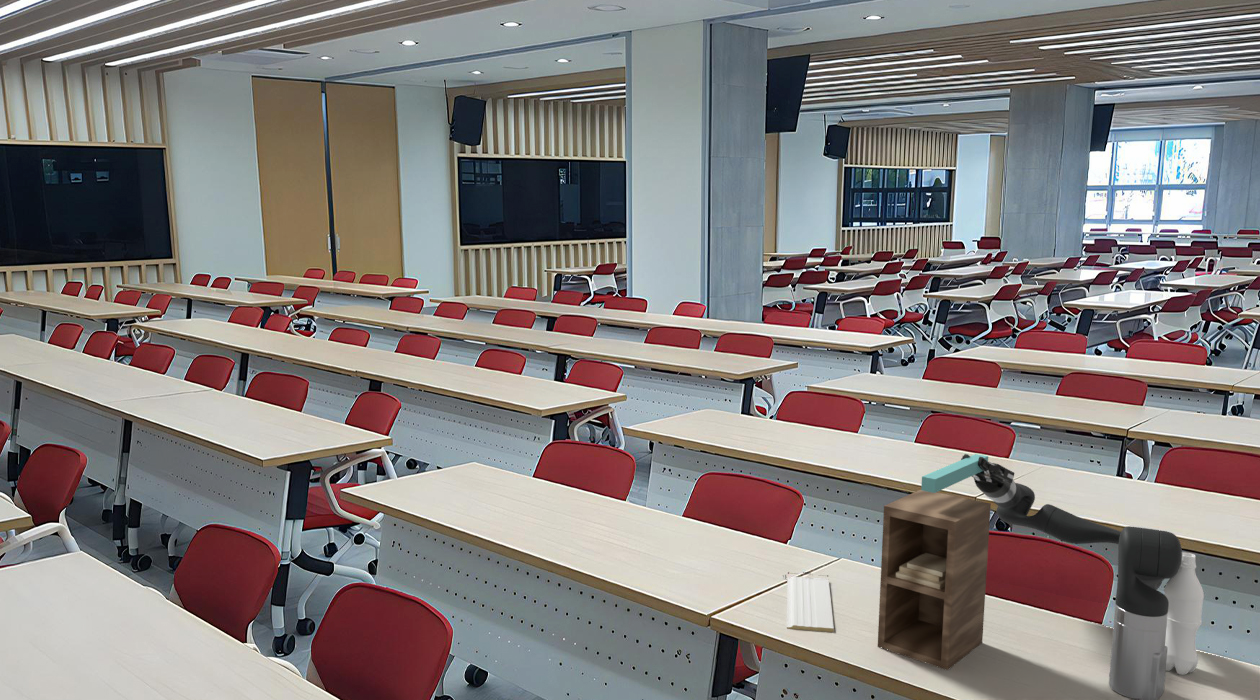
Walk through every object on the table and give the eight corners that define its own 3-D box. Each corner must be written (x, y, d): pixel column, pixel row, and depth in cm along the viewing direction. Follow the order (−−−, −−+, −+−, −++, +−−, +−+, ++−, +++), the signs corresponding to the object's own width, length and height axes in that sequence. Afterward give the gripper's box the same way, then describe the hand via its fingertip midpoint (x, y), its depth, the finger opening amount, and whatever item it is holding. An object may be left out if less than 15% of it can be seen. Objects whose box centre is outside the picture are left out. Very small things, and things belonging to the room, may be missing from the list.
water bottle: (1152, 668, 199) (1162, 554, 196) (1163, 658, 204) (1173, 546, 201) (1191, 680, 194) (1201, 563, 190) (1201, 669, 199) (1211, 555, 195)
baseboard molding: (780, 630, 218) (833, 634, 216) (780, 618, 217) (833, 622, 215) (781, 580, 248) (828, 584, 246) (782, 570, 248) (828, 573, 246)
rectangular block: (987, 468, 220) (988, 456, 220) (934, 493, 200) (935, 479, 200) (974, 466, 222) (975, 454, 222) (921, 490, 202) (921, 476, 202)
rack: (982, 642, 211) (990, 503, 206) (947, 670, 197) (955, 521, 193) (914, 622, 221) (921, 489, 217) (877, 646, 208) (884, 505, 204)
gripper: (971, 463, 235) (947, 439, 223) (1028, 474, 225) (1006, 449, 213) (963, 492, 233) (938, 469, 221) (1021, 503, 223) (998, 480, 211)
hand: (972, 459), depth 217 cm, fingers closed on rectangular block, 3 cm apart
